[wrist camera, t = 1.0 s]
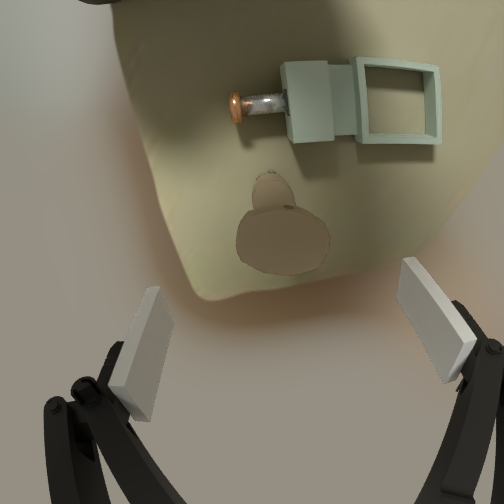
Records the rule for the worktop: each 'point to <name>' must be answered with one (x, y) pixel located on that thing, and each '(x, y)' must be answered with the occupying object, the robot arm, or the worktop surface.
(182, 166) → the worktop surface
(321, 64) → the dock
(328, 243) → the handle
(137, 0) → the worktop surface
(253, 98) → the lock pin
